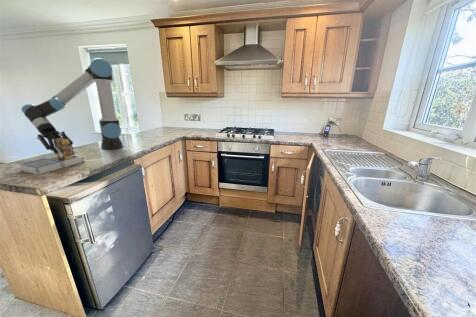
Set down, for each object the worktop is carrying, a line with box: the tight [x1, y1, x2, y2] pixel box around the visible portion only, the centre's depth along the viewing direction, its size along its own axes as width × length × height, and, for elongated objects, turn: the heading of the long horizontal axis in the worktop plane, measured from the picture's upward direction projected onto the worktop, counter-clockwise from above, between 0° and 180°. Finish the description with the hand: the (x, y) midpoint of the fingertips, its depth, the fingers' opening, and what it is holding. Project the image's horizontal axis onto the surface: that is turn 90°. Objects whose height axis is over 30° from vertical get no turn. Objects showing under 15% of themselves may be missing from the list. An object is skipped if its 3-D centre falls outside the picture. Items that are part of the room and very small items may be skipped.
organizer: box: [19, 154, 85, 175], centre depth 116 cm, size 24×14×4 cm, turn 161°
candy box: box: [52, 137, 73, 161], centre depth 120 cm, size 9×4×15 cm, turn 66°
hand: (68, 155), depth 119 cm, fingers open, 6 cm apart
